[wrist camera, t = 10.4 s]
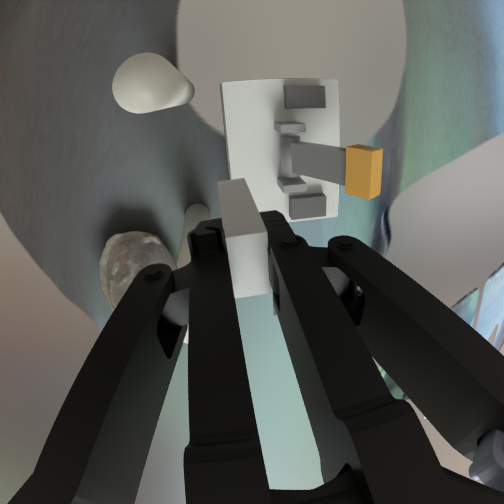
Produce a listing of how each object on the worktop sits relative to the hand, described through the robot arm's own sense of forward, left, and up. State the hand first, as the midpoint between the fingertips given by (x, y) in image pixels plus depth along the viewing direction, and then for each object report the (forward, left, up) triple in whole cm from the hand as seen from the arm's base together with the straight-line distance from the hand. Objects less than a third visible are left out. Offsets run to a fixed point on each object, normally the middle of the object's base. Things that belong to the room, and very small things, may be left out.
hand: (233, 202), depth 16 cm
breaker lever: (+1, +7, -13) cm, 14 cm away
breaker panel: (+1, +7, -19) cm, 20 cm away
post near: (-7, -4, -19) cm, 21 cm away
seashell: (+16, -13, -20) cm, 28 cm away
